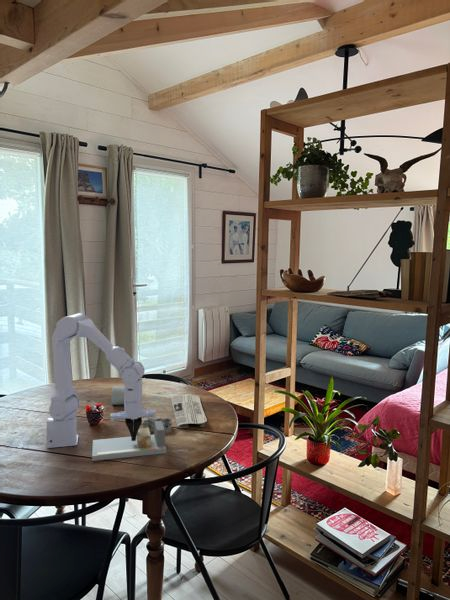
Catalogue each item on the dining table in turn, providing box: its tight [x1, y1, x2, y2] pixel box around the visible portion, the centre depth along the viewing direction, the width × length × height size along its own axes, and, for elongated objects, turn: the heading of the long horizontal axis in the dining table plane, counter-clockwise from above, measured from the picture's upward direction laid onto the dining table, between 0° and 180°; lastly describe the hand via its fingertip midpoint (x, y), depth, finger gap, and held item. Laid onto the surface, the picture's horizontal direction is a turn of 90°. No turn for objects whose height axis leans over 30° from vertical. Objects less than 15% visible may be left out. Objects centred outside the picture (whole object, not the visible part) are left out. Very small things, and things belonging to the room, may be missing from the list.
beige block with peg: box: [137, 427, 152, 448], centre depth 145 cm, size 4×9×4 cm, turn 16°
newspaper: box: [170, 393, 208, 429], centre depth 179 cm, size 35×12×4 cm, turn 11°
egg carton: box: [142, 417, 173, 434], centre depth 161 cm, size 11×8×4 cm
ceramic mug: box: [111, 385, 124, 406], centre depth 188 cm, size 11×8×8 cm
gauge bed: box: [91, 421, 167, 462], centre depth 144 cm, size 23×12×7 cm, turn 106°
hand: (133, 439), depth 145 cm, fingers closed
